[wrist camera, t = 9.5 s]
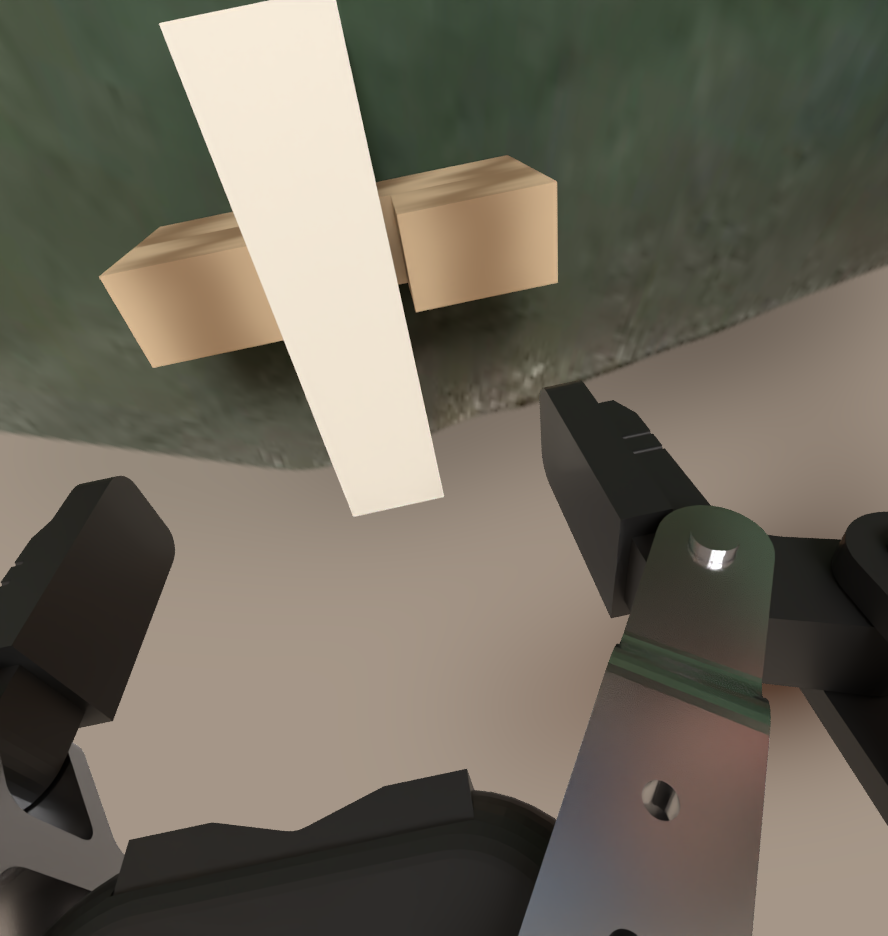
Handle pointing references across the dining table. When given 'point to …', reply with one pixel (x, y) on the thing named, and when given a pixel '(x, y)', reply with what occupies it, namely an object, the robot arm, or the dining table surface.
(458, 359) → the dining table surface
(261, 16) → the white rectangular block
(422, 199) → the oak base
